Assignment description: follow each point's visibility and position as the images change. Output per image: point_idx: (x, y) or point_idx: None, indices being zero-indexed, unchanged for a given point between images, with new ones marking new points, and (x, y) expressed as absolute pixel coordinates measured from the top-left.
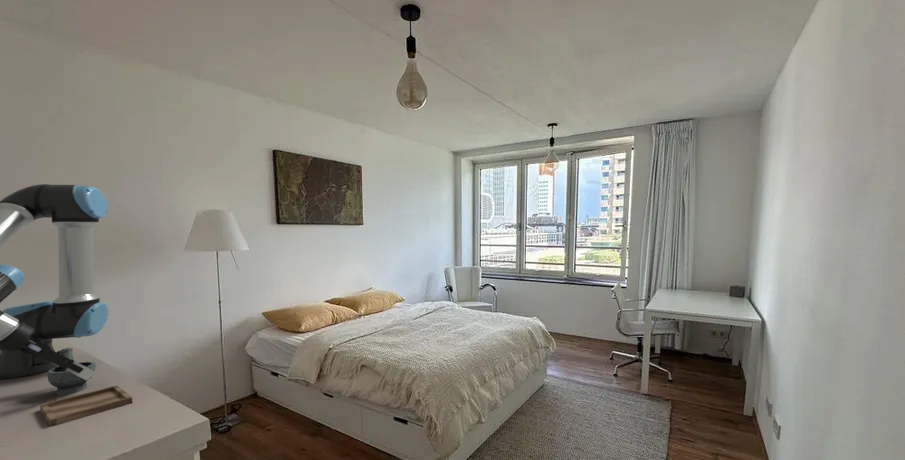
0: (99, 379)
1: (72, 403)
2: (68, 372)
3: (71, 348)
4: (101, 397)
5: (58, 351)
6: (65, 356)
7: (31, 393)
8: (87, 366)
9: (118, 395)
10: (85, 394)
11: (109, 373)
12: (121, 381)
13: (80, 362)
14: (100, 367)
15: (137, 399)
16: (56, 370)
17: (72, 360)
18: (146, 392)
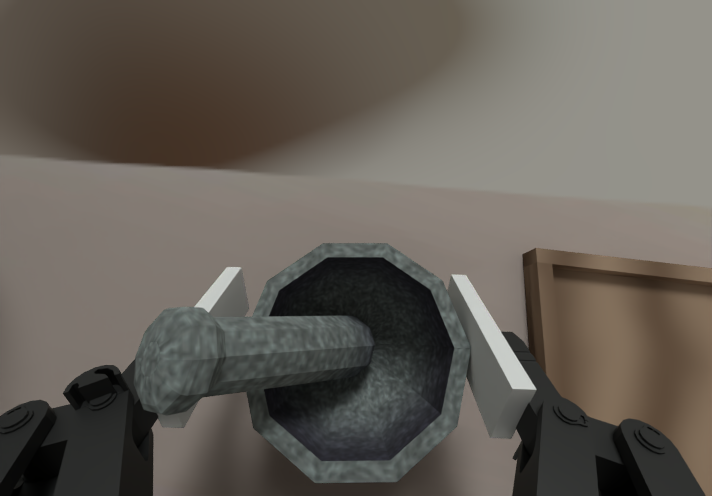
0: (299, 237)
1: (596, 409)
2: (457, 396)
3: (201, 322)
4: (606, 320)
5: (72, 392)
6: (257, 374)
7: (220, 455)
8: (435, 294)
9: (635, 280)
10: (559, 355)
11: (249, 191)
12: (414, 207)
13: (277, 283)
14: (113, 178)
15: (701, 255)
16: (273, 407)
17: (672, 445)
18: (640, 213)
